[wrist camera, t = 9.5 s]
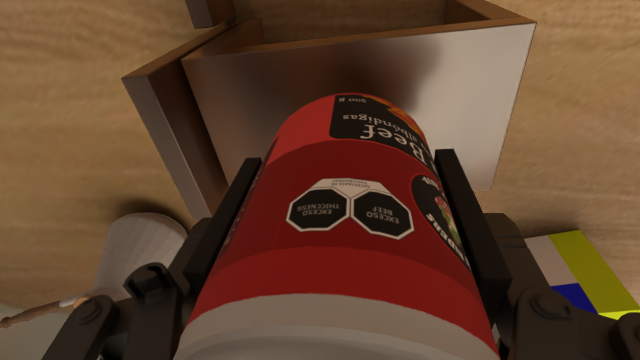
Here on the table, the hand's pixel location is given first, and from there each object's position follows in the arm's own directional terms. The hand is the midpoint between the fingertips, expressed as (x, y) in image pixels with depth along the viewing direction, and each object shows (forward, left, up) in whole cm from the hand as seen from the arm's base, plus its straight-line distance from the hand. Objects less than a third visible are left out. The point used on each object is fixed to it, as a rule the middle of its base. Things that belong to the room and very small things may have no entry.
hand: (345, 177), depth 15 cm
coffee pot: (-34, -21, -16) cm, 43 cm away
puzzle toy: (+22, -27, -16) cm, 38 cm away
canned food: (0, 0, -2) cm, 2 cm away
